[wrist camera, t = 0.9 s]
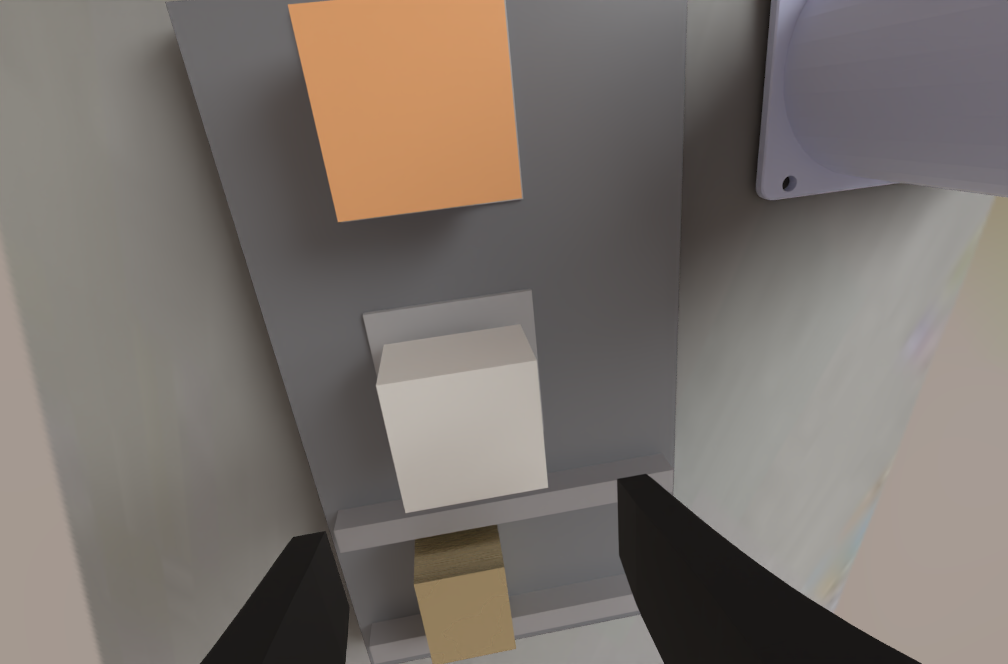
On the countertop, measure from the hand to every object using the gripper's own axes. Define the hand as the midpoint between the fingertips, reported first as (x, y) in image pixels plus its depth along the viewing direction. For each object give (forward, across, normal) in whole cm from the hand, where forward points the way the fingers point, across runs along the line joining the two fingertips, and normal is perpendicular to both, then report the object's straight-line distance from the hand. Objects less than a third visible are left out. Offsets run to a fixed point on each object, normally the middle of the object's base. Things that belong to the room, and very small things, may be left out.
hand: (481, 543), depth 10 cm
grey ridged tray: (+9, -1, +1) cm, 10 cm away
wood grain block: (+7, +1, +8) cm, 11 cm away
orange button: (+6, 0, -8) cm, 10 cm away
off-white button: (+6, 0, 0) cm, 6 cm away
